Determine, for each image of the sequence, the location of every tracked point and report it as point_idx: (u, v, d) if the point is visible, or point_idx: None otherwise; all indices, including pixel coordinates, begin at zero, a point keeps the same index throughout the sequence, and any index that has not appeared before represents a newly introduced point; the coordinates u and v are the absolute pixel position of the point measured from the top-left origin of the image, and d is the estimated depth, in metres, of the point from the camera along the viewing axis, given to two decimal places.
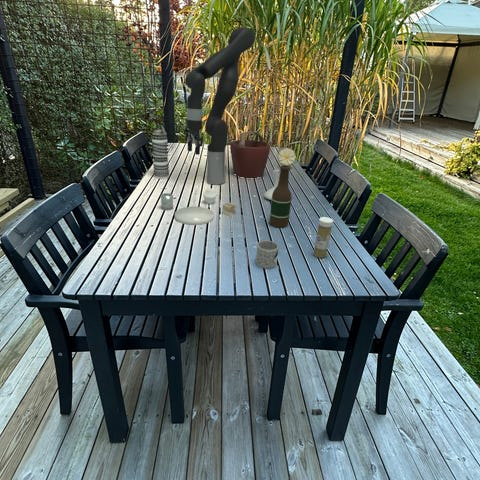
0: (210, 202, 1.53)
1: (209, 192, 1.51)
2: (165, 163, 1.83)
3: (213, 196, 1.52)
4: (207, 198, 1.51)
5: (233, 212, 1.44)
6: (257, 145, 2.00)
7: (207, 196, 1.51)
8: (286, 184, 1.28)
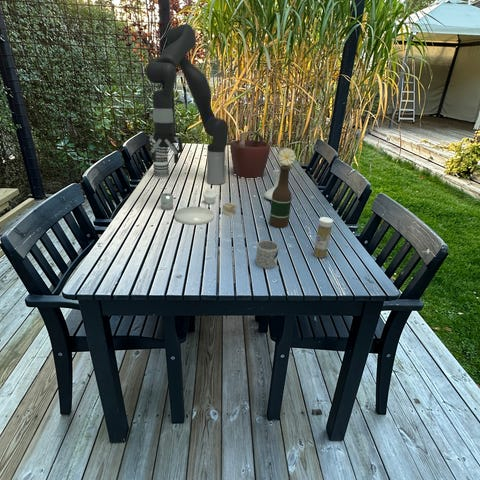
0: (210, 202, 1.53)
1: (209, 192, 1.51)
2: (165, 163, 1.83)
3: (213, 196, 1.52)
4: (207, 198, 1.51)
5: (233, 212, 1.44)
6: (257, 145, 2.00)
7: (207, 196, 1.51)
8: (286, 184, 1.28)
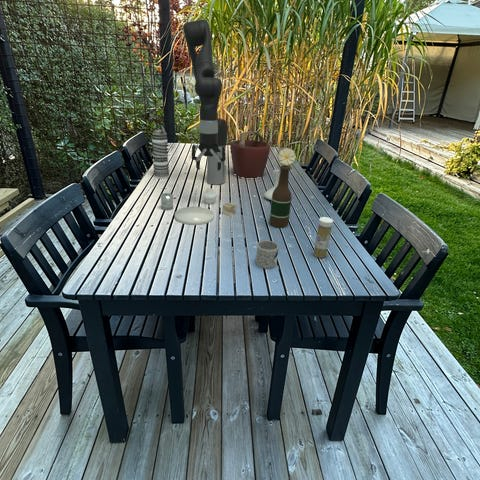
0: (210, 202, 1.53)
1: (209, 192, 1.51)
2: (165, 163, 1.83)
3: (213, 196, 1.52)
4: (207, 198, 1.51)
5: (233, 212, 1.44)
6: (257, 145, 2.00)
7: (207, 196, 1.51)
8: (286, 184, 1.28)
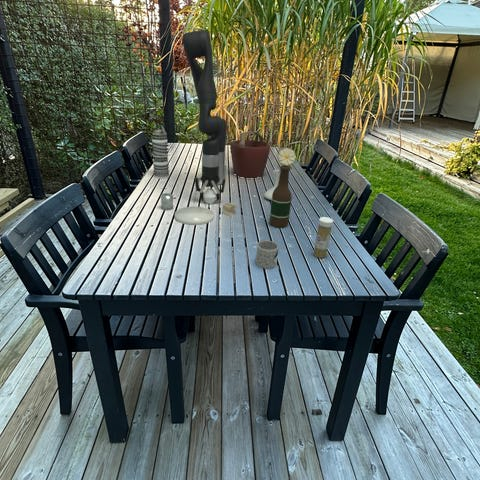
0: (210, 202, 1.53)
1: (209, 192, 1.51)
2: (165, 163, 1.83)
3: (213, 196, 1.52)
4: (207, 198, 1.51)
5: (233, 212, 1.44)
6: (257, 145, 2.00)
7: (207, 196, 1.51)
8: (286, 184, 1.28)
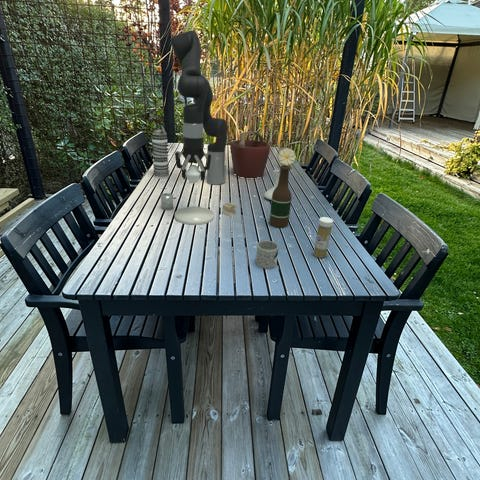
0: (193, 181, 1.31)
1: (192, 169, 1.29)
2: (165, 163, 1.83)
3: (197, 174, 1.29)
4: (190, 176, 1.29)
5: (233, 212, 1.44)
6: (257, 145, 2.00)
7: (189, 174, 1.28)
8: (286, 184, 1.28)
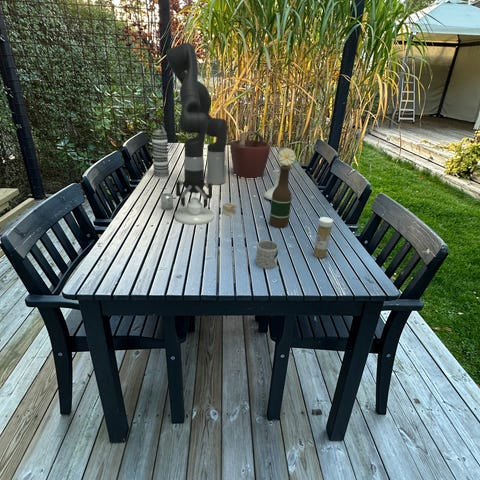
0: (195, 213, 1.37)
1: (194, 202, 1.35)
2: (165, 163, 1.83)
3: (198, 206, 1.35)
4: (191, 209, 1.35)
5: (233, 212, 1.44)
6: (257, 145, 2.00)
7: (191, 206, 1.34)
8: (286, 184, 1.28)
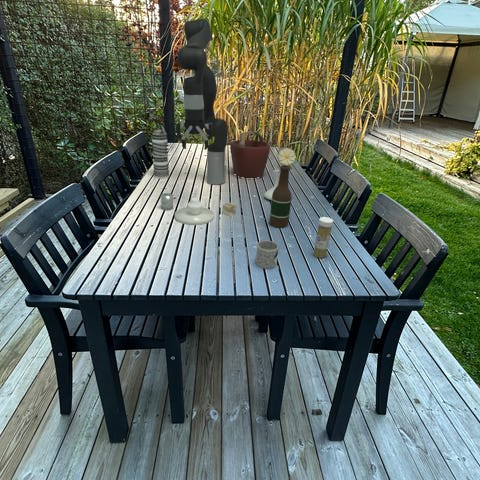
0: (195, 213, 1.37)
1: (194, 202, 1.35)
2: (165, 163, 1.83)
3: (198, 206, 1.35)
4: (191, 209, 1.35)
5: (233, 212, 1.44)
6: (257, 145, 2.00)
7: (191, 206, 1.34)
8: (286, 184, 1.28)
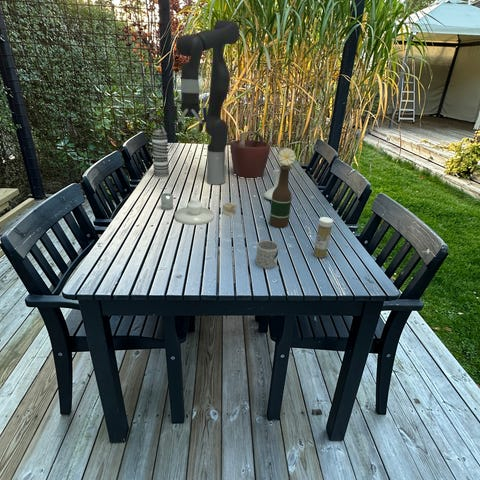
0: (195, 213, 1.37)
1: (194, 202, 1.35)
2: (165, 163, 1.83)
3: (198, 206, 1.35)
4: (191, 209, 1.35)
5: (233, 212, 1.44)
6: (257, 145, 2.00)
7: (191, 206, 1.34)
8: (286, 184, 1.28)
